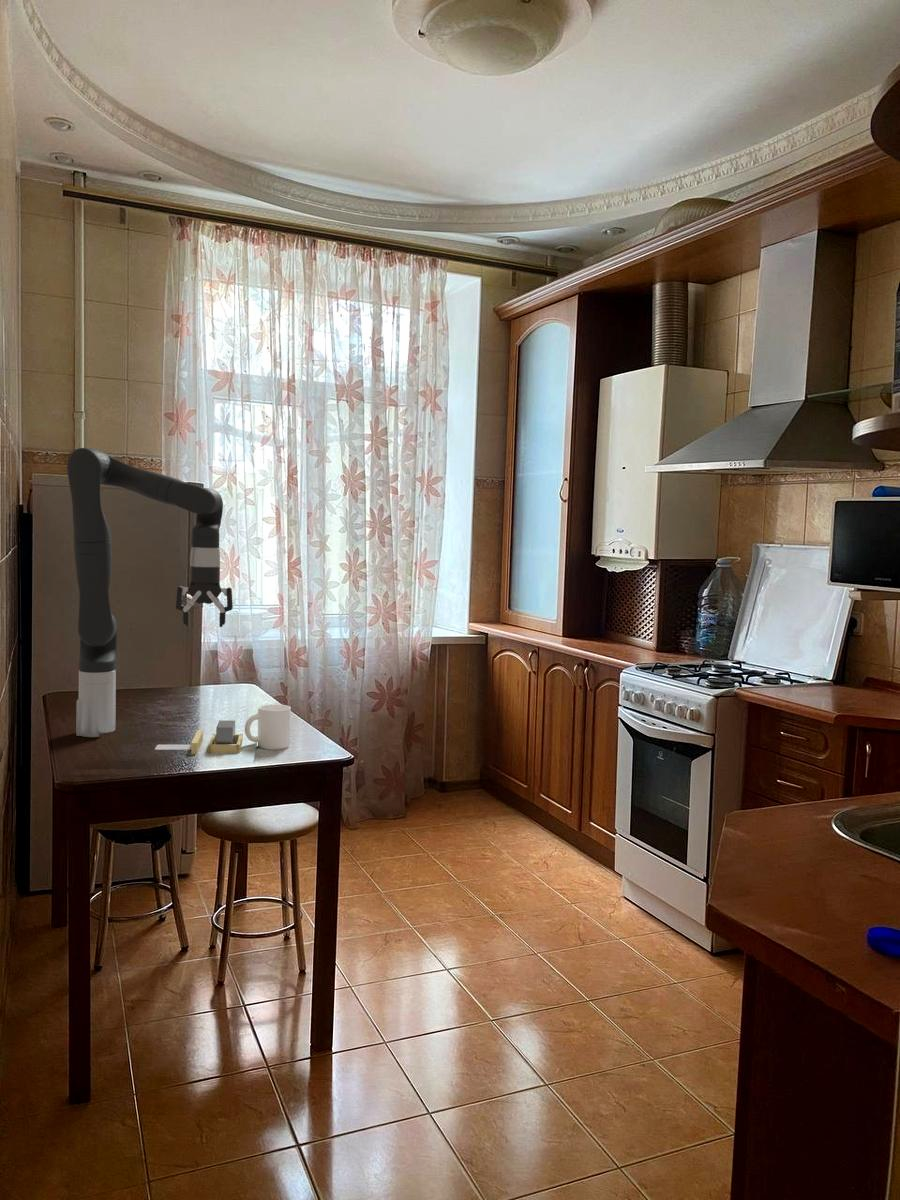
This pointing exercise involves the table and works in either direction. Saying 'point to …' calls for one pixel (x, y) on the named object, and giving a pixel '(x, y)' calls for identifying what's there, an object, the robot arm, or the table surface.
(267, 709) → the mug
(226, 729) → the block
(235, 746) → the white fixture board
